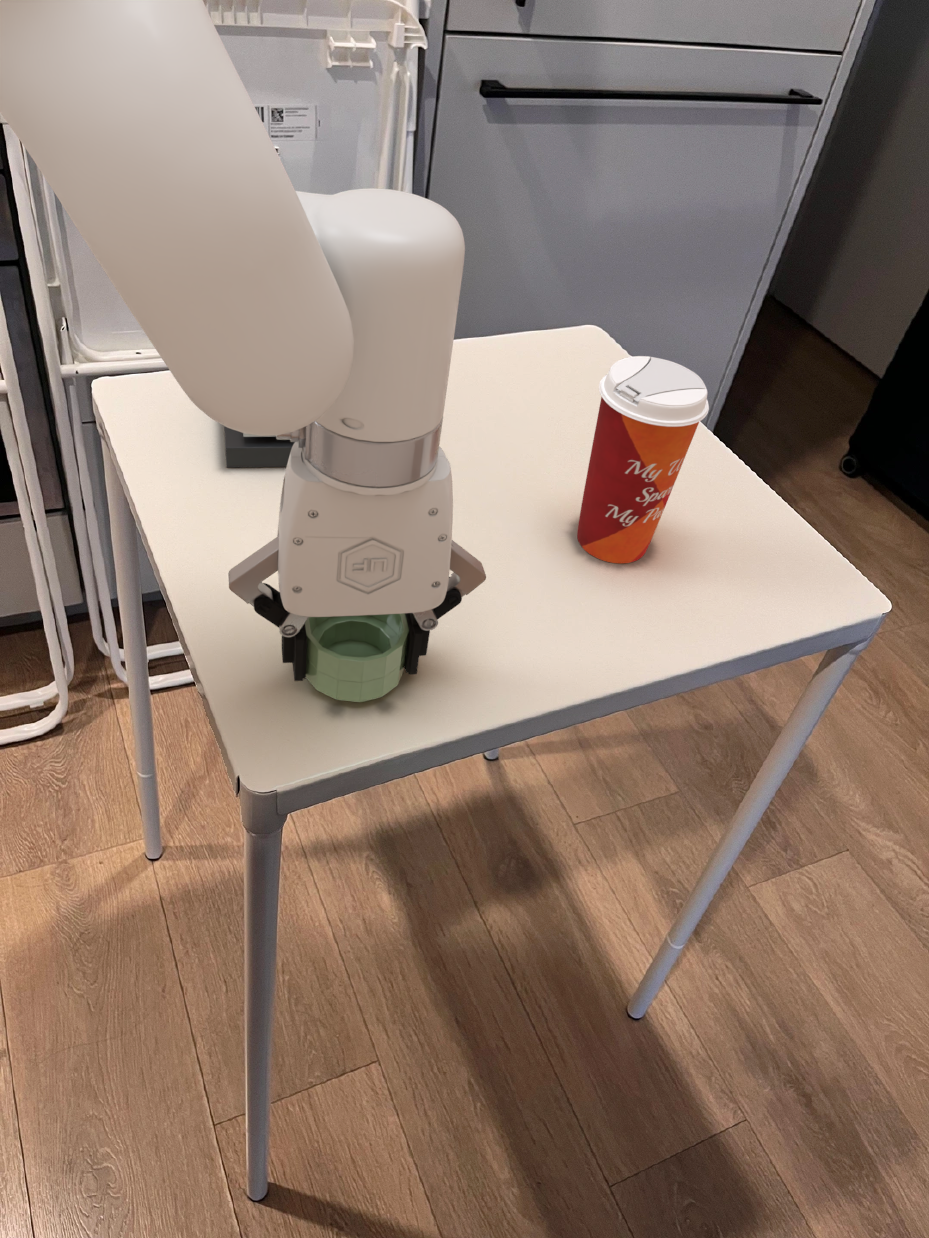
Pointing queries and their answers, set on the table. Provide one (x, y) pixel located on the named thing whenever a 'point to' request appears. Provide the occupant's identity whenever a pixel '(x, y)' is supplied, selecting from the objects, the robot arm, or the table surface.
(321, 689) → the bowl
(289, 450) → the scale base
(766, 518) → the table surface
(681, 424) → the coffee cup
